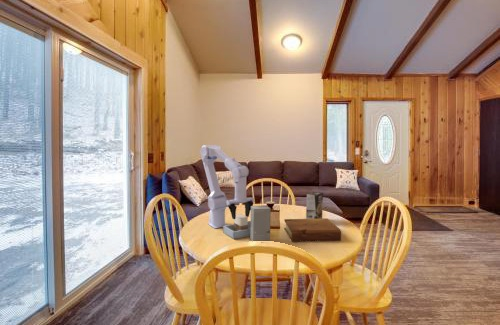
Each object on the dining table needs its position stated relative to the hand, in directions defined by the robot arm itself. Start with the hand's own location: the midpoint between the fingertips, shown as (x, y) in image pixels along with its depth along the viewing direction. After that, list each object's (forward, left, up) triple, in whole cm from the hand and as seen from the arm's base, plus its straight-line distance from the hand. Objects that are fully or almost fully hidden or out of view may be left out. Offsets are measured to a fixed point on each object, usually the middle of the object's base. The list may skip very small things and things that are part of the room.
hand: (240, 217), depth 138 cm
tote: (0, +2, -8) cm, 8 cm away
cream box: (0, 0, -3) cm, 3 cm away
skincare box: (+13, +3, -8) cm, 16 cm away
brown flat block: (+20, +28, -9) cm, 36 cm away
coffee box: (+5, +46, -8) cm, 47 cm away
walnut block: (0, 0, -8) cm, 8 cm away
